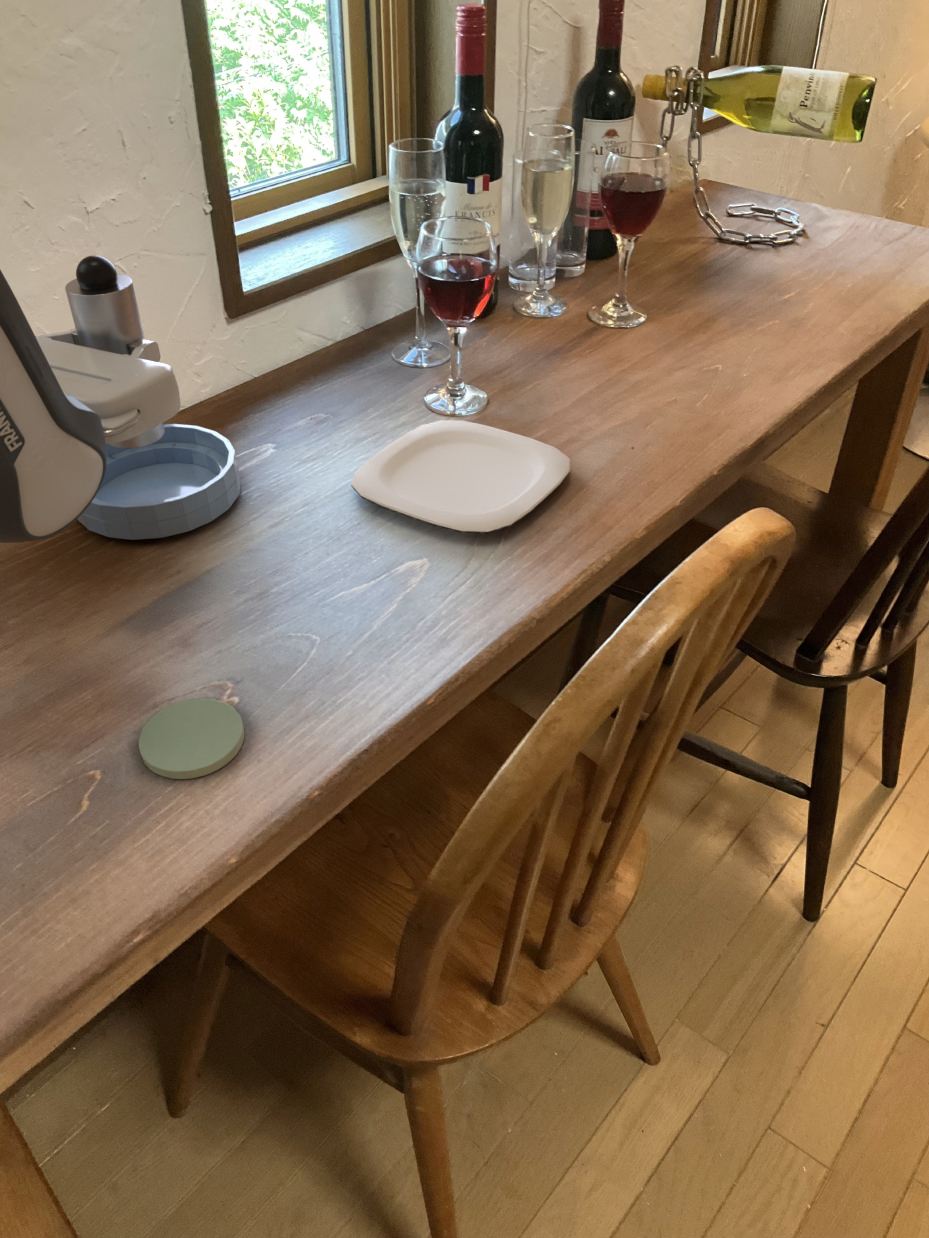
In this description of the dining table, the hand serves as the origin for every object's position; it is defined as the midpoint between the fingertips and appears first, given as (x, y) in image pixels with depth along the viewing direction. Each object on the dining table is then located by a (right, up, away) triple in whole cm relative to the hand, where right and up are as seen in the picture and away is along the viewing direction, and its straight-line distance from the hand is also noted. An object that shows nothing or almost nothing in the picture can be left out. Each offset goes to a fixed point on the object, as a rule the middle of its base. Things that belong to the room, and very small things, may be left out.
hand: (120, 342), depth 78 cm
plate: (+28, -10, +14) cm, 33 cm away
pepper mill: (0, -7, +4) cm, 8 cm away
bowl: (-1, -11, +13) cm, 17 cm away
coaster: (+9, -31, -12) cm, 35 cm away
